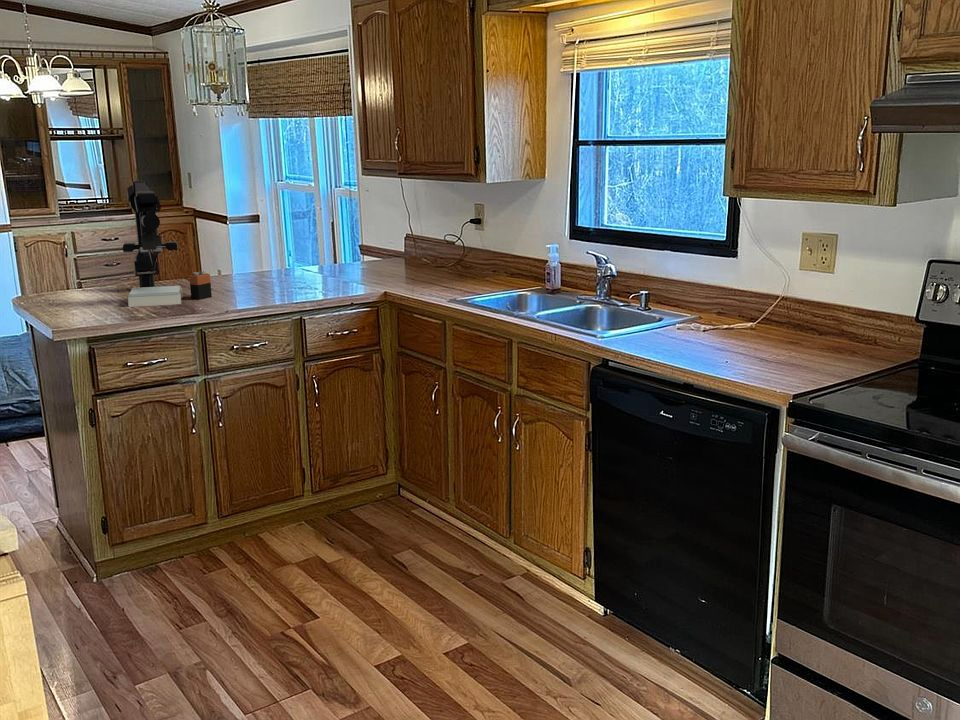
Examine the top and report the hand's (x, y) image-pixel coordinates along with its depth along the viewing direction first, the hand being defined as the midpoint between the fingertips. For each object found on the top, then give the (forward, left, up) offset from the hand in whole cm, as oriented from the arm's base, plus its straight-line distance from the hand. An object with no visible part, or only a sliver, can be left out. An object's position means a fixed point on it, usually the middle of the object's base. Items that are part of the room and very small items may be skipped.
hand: (153, 269), depth 318 cm
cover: (+1, 0, -8) cm, 8 cm away
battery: (-3, +16, -12) cm, 20 cm away
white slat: (+1, 0, -12) cm, 12 cm away
